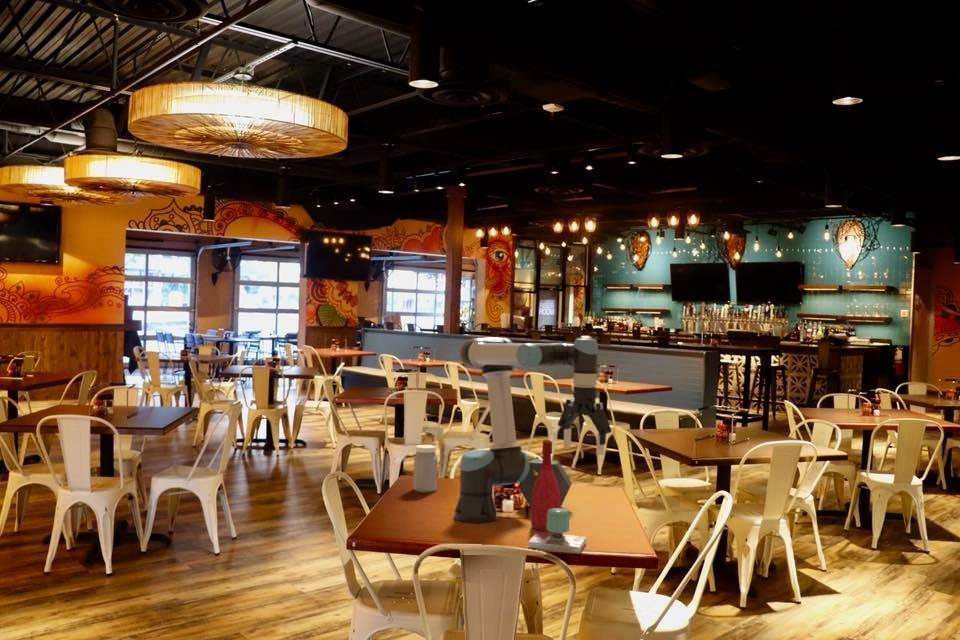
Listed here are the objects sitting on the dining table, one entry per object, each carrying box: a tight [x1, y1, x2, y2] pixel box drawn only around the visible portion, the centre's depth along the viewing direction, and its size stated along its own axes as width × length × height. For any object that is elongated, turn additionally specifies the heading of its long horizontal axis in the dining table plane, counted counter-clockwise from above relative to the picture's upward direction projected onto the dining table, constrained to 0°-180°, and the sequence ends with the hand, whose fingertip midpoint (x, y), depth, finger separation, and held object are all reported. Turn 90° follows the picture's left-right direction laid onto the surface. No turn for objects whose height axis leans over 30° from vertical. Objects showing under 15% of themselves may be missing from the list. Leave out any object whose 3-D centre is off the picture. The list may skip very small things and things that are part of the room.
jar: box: [412, 444, 438, 493], centre depth 322 cm, size 10×10×18 cm
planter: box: [517, 458, 573, 508], centre depth 298 cm, size 17×8×21 cm
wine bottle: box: [530, 439, 561, 532], centre depth 269 cm, size 10×10×30 cm
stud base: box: [528, 531, 587, 554], centre depth 249 cm, size 16×12×10 cm
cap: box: [547, 507, 571, 534], centre depth 249 cm, size 7×7×6 cm
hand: (583, 451), depth 255 cm, fingers open, 13 cm apart
